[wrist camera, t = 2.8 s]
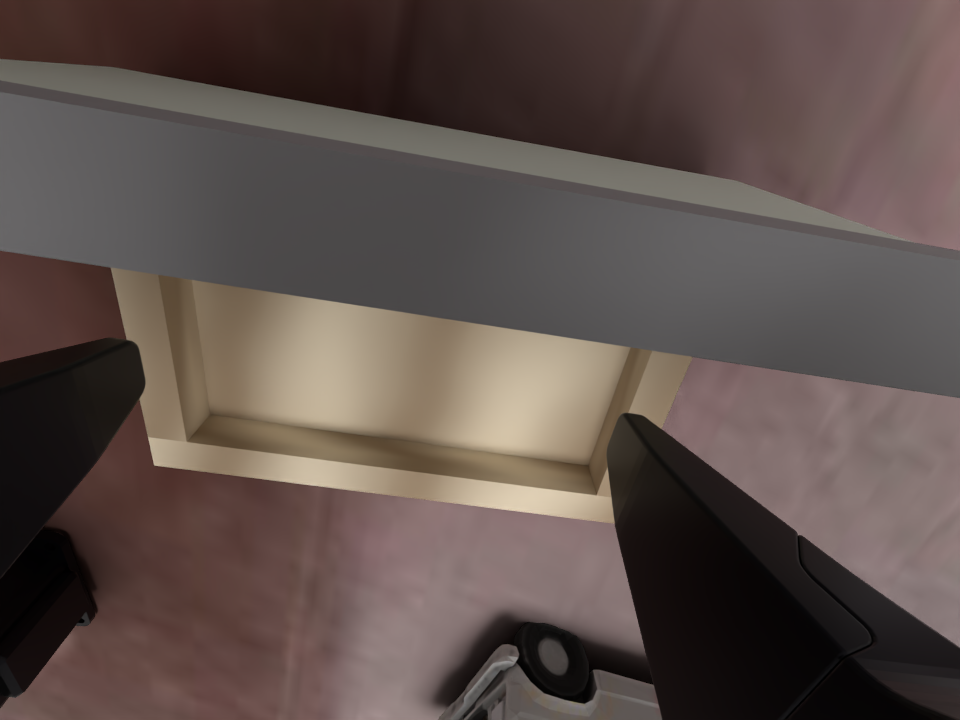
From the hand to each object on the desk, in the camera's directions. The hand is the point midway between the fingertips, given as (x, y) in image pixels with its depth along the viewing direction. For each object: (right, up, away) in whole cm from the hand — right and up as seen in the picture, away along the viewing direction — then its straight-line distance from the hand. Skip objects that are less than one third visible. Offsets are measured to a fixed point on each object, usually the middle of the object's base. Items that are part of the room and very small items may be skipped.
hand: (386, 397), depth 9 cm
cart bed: (0, +2, +8) cm, 8 cm away
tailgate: (+1, +6, +3) cm, 7 cm away
